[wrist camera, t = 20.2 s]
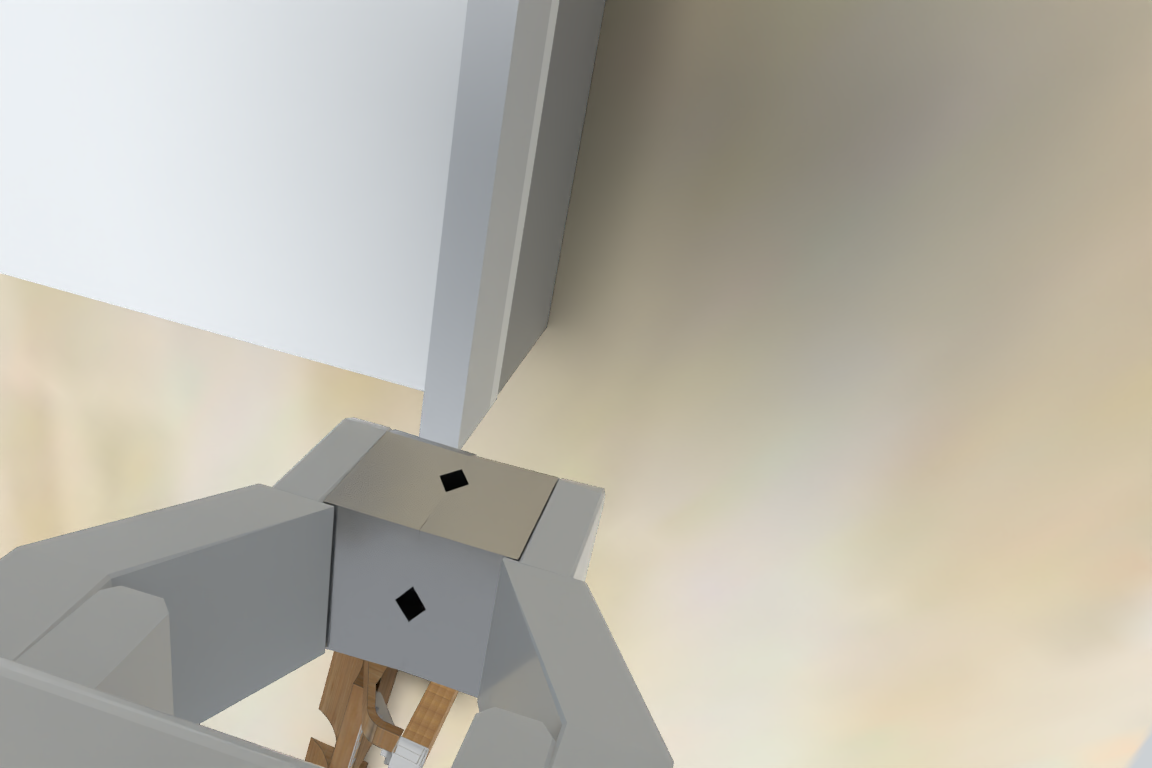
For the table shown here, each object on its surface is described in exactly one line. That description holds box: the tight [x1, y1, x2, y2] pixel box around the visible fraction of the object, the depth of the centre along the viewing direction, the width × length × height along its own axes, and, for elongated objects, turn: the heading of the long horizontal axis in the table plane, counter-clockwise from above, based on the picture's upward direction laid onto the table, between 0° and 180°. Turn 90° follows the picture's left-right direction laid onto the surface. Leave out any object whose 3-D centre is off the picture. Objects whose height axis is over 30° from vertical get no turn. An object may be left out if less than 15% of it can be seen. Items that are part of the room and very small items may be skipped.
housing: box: [498, 0, 606, 394], centre depth 29 cm, size 16×26×6 cm, turn 79°
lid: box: [0, 0, 559, 449], centre depth 24 cm, size 16×26×4 cm, turn 79°
